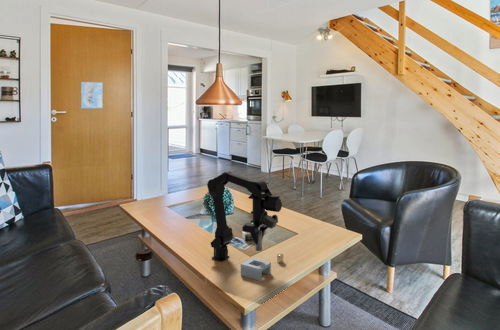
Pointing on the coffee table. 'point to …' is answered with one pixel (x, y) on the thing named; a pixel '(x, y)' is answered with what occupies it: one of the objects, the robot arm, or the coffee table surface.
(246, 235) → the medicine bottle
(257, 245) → the long pin
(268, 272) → the frame
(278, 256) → the short pin
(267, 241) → the coffee table surface
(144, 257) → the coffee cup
